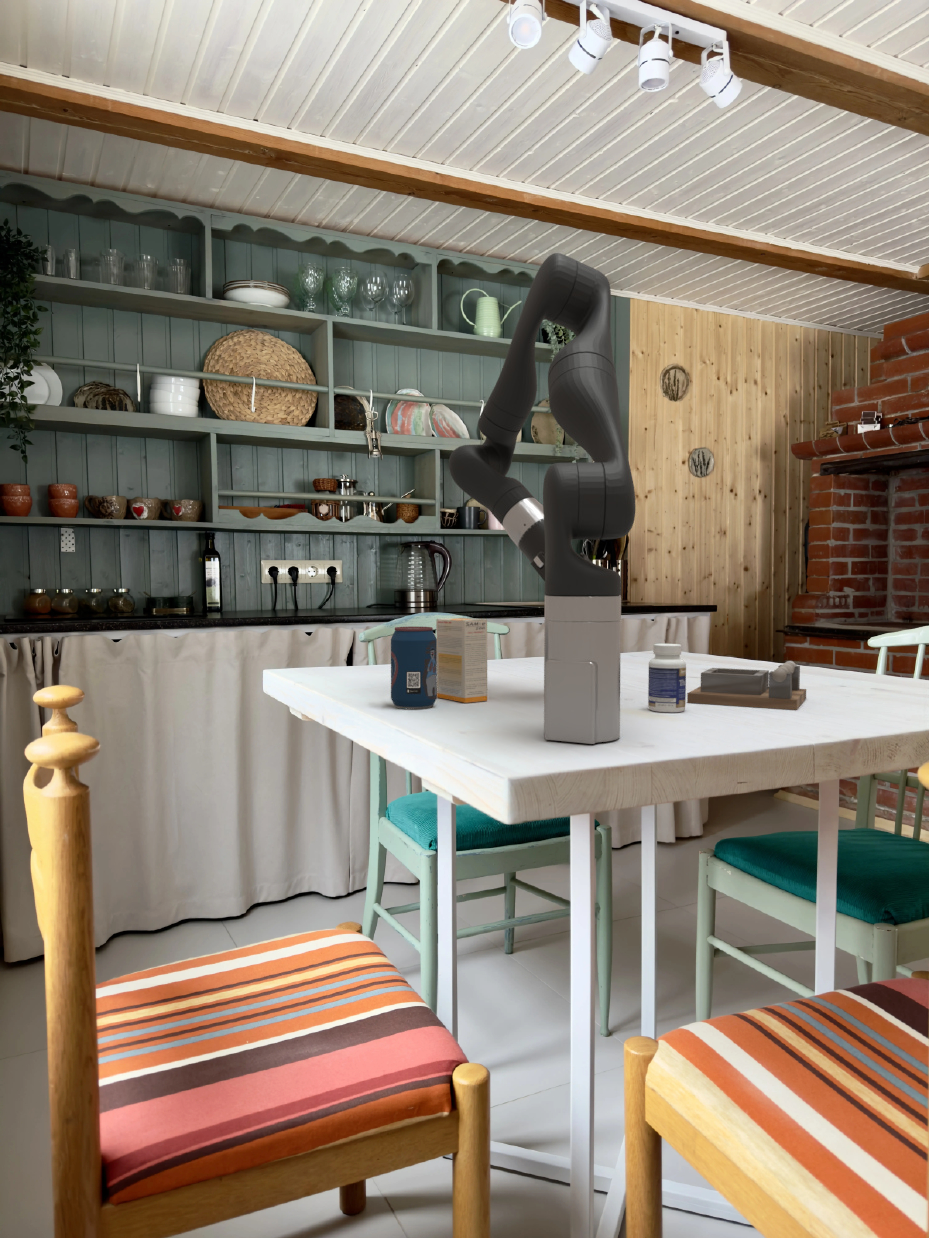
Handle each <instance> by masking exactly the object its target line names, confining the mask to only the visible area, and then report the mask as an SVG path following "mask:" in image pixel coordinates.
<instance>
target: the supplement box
mask: <svg viewBox="0 0 929 1238" xmlns="http://www.w3.org/2000/svg"><path fill="white" fill-rule="evenodd" d="M435 621H436V625H435V627H436V628H435V629H436V631H435V632H436V635H435V637H436V639H437V698H438V699H446V700H450V701H455V702H459V703H464V704H465V703H466V704H467V703H468V704H469V703H471V704H472V703H479V702H487V701H488V619H486V618H474V617H473V618H471V617H446V618H445V617H442V618H436V619H435ZM437 698H436V699H437Z"/></svg>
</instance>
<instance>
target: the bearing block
mask: <svg viewBox="0 0 929 1238" xmlns="http://www.w3.org/2000/svg"><path fill="white" fill-rule="evenodd" d="M800 679H801V665H797V664H796V663H795V662H794V661H793V660H787V661H786V662H783V664H780V665H778V667H777V668H776V669H774V670H771V671H769V670H768V669H767V670H765V669H749V668H748V669H747V668H745V669H742V668H723V667H711V668H709V669H706V670H703V672H700V686H699V687H697V688H695V689H693V690H691V691H689V692H687V693H686V697H687V700H686V703H687V704H699V705H701V704H702V705H703V704H704V705H715V706H730V707H732V706H733V707H743V708H744V707H747V708H758V709H759V708H761V709H776V710H789V711H798V709H799V708H800V707H801V706H802V704H803V703H804V702H805V701H806V699H807V689H806V688H800V685H801V684H800Z"/></svg>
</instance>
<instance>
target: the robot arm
mask: <svg viewBox="0 0 929 1238" xmlns="http://www.w3.org/2000/svg"><path fill="white" fill-rule="evenodd" d="M609 281H610V280H609V279H608V277H607V276H606V275H605V274H604V273H603V272H601V271H600V270H598V269H596V268H594V267H592V266H589V265H587V264H585V263H583V262H580V261H578V260H576V259H575V258H573V257H570V256H568V255H566V254H563V253H560V252H554V253H552V254H550V255H549V256H547V257H546V258H545V260H543V262H542V263H541V265H540V266H539V268H538V270H537V272H536V274H535V276H534V278H533V281H532V283H531V285H530V288H529V290H528V293H527V296H526V299H525V300H524V304H523V308H522V309H521V313H520V315H519V319H518V322H517V324H516V327H515V330H514V333H513V335H512V338H511V342H510V345H509V348H508V350H507V353H506V357H505V360H504V362H503V363H504V364H503V366H502V368H501V370H500V374H499V375H498V378H497V380H496V383H495V385H494V387H493V389H492V391H491V393H490V395H489V396H488V399H487V400H486V403H485V405H484V406H483V407H484V408H483V409H482V412H481V413H480V416H479V418H478V422H477V427H478V430H479V431H480V433H481V434H482V435H483V436H484V437H485V440H484V441H483V443H482V444H464V445H460V446H458V447H456V448H455V449H454V450H453V451H452V452H451V454H450V456H449V459H448V469H449V470H448V471H449V473H450V476H451V478H452V480H453V481H454V483H455V485H457V487H459V489H460V490H462V491H463V492H464V493H465V494H466V495H468V496H469V497H470V498H472V499H473V500H474V501H476V502H478V504H480V505H481V506H483V507H485V508H487V510H488V511H489V512H490V514H492V515H493V517H495V519H496V521H497V522H498V523H499V524H500V525H501V527H503V529H504V530H505V533H506V534H507V535H508V536H509V538H510V540H512V542H513V543H514V544H515V546H516V547H517V548H518V549H519V551H520V552H521V553H522V554H523V555H524V556H525V558H527V560H528V561H529V562H530V565H531V566H532V567H533V569H534V570H535V572H536V573H537V574H538V575H539V576H540V577H541V579H542V581H544V620H543V621H544V623H543V625H544V626H543V627H544V628H543V629H544V631H543V632H544V635H543V636H544V637H543V638H544V639H543V643H544V644H543V646H544V648H543V651H544V652H543V653H544V654H543V661H544V662H543V664H544V665H543V736H544V740H546V741H547V740H548V741H559V742H560V741H561V742H568V743H579V744H589V745H592V744H593V745H594V744H596V743H602V742H603V743H604V742H611V741H616V740H618V739H620V737H621V640H622V639H621V638H622V637H621V636H622V635H621V634H622V633H621V632H622V631H621V629H622V628H621V627H622V625H621V624H622V623H621V621H622V578H621V575H620V573H618V572H617V571H615V570H613V569H610V568H607V567H604V566H601V565H599V564H596V563H594V562H592V561H591V559H590V558H589V557H588V556H587V555H586V554H585V553H584V552H580V554H579V553H577V552H576V551H575V549H574V548H573V547H572V546H573V545H572V543H571V542H572V541H573V540H614V539H619V538H620V539H621V538H623V537H625V536H627V535H628V534H629V533H630V531H631V530H632V528H633V525H634V522H635V518H636V492H635V485H634V480H633V475H632V469H631V466H630V461H629V458H628V453H627V449H626V448H627V447H626V444H625V441H624V436H623V430H622V424H621V412H620V400H619V399H620V398H619V387H618V381H617V373H616V367H615V363H614V355H613V348H612V347H613V345H612V331H611V313H612V312H611V311H612V309H611V308H612V300H611V299H612V293H611V292H612V291H611V285H610V282H609ZM544 320H546V321H549V322H551V323H553V324H555V325H557V326H560V327H563V328H565V329H567V330H569V331H571V332H572V333H573V334H574V335H575V338H573V339H571V340H570V341H568V343H566V344H565V345H564V346H563V347H561V348H560V349H559V351H558V352H557V353H556V354H555V355H554V357H553V358H552V361H551V363H550V364H549V367H548V372H547V373H548V374H547V387H548V388H547V389H548V390H547V391H548V402H549V403H548V405H549V410H550V413H551V415H552V416H553V418H554V420H555V421H556V423H557V424H558V426H559V427H561V429H562V430H563V431H564V432H565V433H566V434H567V435H568V436H569V437H570V438H571V439H572V440H573V441H574V442H575V443H576V444H578V445H579V446H580V447H581V448H582V449H583V451H585V452H586V453H587V454H588V456H590V458H591V460H592V461H593V462H591V461H590V462H587V461H586V462H557V463H556V462H555V463H553V464H551V465H550V466H549V467H548V468H547V470H546V472H545V475H544V477H543V488H542V503H541V502H539V501H538V500H537V499H536V498H535V496H533V494H532V493H531V492H530V491H529V490H528V488H526V486H525V485H524V484H523V483H522V482H520V481H519V480H518V479H517V478H514V477H510V476H507V474H508V472H509V470H510V468H511V466H512V461H513V457H514V454H515V453H514V452H515V449H516V444H517V438H518V436H519V434H520V432H521V430H522V428H523V426H524V424H525V422H526V421H527V419H528V417H529V415H530V413H531V411H532V409H533V407H534V404H535V402H536V401H535V400H536V397H537V391H538V379H537V370H536V369H537V368H536V365H537V364H536V342H537V336H538V332H539V330H540V327H541V325H542V323H543V321H544Z"/></svg>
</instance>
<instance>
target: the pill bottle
mask: <svg viewBox="0 0 929 1238" xmlns="http://www.w3.org/2000/svg"><path fill="white" fill-rule="evenodd" d="M652 652H653V655H654V657H653V658H651V659H650V660H649V661H648V683H647V684H648V687H647V688H648V690H647V692H648V693H647V694H648V695H647V696H648V697H647V698H648V700H647V702H648V703H647V704H648V705H647V707H648V709H649V710H650V711H652V712H659V713H680V712H685V710H686V703H687V700H686V697H687V693H686V692H687V691H686V690H687V689H686V688H687V663H686V661H685V660H684V659H682V658H681V657H680V655H682V644H679V643H654V644H653V651H652Z"/></svg>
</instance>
